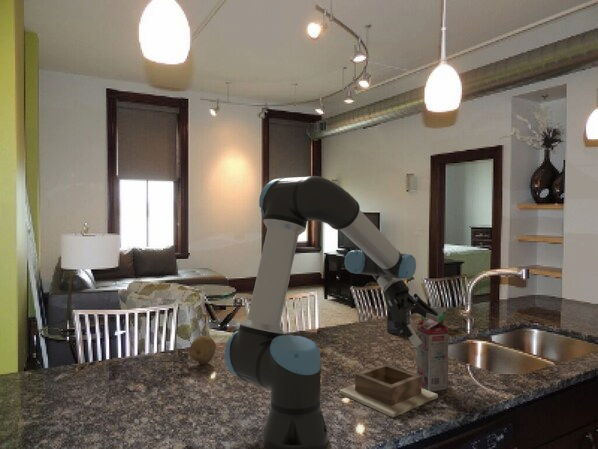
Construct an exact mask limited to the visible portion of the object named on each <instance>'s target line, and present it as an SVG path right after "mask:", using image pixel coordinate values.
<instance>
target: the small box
mask: <svg viewBox="0 0 598 449" xmlns="http://www.w3.org/2000/svg"><path fill="white" fill-rule="evenodd" d="M410 312H411V310H410V311H408V310H407V311H406V315H407V325H409V324H410V325H411V320H410V319H411V313H410ZM386 317H387V318H386V320H387V321H386V324H387V326H386V327H387V328H386V330H387V331H386V333H387V334H392V335H398V336H400V335H403V334H405V333H404V332H403V330H401V331H399V330H398V328H397V329H396V328H395V327H394V323H393V319H392V316H391V312H390V308H389V309H386Z"/></svg>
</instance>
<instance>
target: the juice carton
mask: <svg viewBox="0 0 598 449" xmlns="http://www.w3.org/2000/svg"><path fill="white" fill-rule="evenodd" d="M416 325H417V326H416V327H417V328H416V329H417V330H416V334H417V336H418V337H419V339H420V340H421V342H422V343H421V344H420V345H419V346H418V347H416V375H419V376H422V387H421V388H423V389H425V390H428V391H431V392H436V391H443V390H448V389H449V388H448V386H449V385H448V384H449V381H448V380H449V327H447V325H444V324H443V325H442V324H440V323H439V317H436V316H434V315H431V314H429V313H426V318H425V319H424V320H422V319H421V321H419V322H418V323H417V324H416Z"/></svg>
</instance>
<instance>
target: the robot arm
mask: <svg viewBox="0 0 598 449" xmlns="http://www.w3.org/2000/svg"><path fill="white" fill-rule="evenodd" d="M259 195H260V196H259V200H258V202H259V203H258V205H259V208H260V213H261V214H262V215H263V220H262V222H263V224H264V225H265V227H266V229H267V230H266V234H265V238H264V242H263V246H262V251H261V254H260V256H261V257H260V260H259V266H258V270H257V274H256V277H255V278H256V279H255V283H254V288H253V291H252V296H251V301H250V305H249V310H248V315H247V318H245V319H244V320H243V321H241V322H240V324H239V327H238V330H236V331H235V332H233V333H232V334H231V336H230V337H229V338H228V339H227V341H226V344H225V347H224V352H223V353H224V362H225V365H226V367H227V369H228V371H229V372H230V373H231V374H232V375H233V376H235V377H237V378H239V379H241V380H242V381H244V382H249V383H251V384H252V383H253V384H255V385H257V386H260V387H262V388H266V389H267V390H270V408H269V412H268V416H267V419H266V423H265V426H264V428H263V430H262V431H263V432H262V436H263V437H262V438H263V439H262V441H263V445H264V447H265V449H325V448H326V447H327V444H328V441H329V439H328V436H329V432H328V428H327V424H326V420H325V418H324V415H323V413H322V409H321V389H322V388H321V387H322V386H321V385H322V384H321V383H322V382H321V380H322V379H321V377H322V376H321V375H322V360H321V351H320V348H319V346H318V344H317V343H316V342H314V341H313V340H311V339H309V338H307V337H305V336H300V335H293V334H286V335H285V332H284V329H283V327H282V326H281V323H282V322H281V320H282V316H283V312H284V307H285V302H286V297H287V292H288V289H289V288H288V287H289V283H290V278H291V274H292V268H293V263H294V259H295V254H296V249H297V244H298V240H299V236H300V235H301V234H303V233H304V232H305V231H306V229H307V226H308V225H307V224H308V222H315V221H316V222H319V223H323V224H326V225H328V226H329V227H330V228H332V229H333V230H335V231H341V233H343V234H344V235H345V237H347V238H348V239H349V240H350V241H351V242H352V243H353V244H354V245H356V247H358V249H353V250H350V251H348V252H347V253H346V255H345V256H344V266H345V269H346V270H347V271H348V272H349V273H351V274H355V275H359V274H360V275H361V274H362V275H368V276H372V277H373V279H374V280H375V281H376V282H377V284H378V285H379V287H380V288H381V290H382V292H384V295H385V296H386V297H387V299H388V301H387V302H386V304H387V306H388V308H389V309H390V312H391V316H392V319H393V323H394V327H395V328H396V329H397V328H398V330H399V331H401V330H403V332H404V333H403V334H405V336H406V338H408V339H409V341H410V343H411V345H413V347H414V348H415V349H417V347H418V346H419V345H420V344H421V343H422V342H421V340H420V339H419V337H418V336H417V332H415V330H414V329H413V327H412V326H411V323H410V324H409V325H407V315H406V311H407V310H408V311H410V312H411V311H412V312H415V313H417V314H418V315H419V316H420V317H421V316H423V317H424V318H426V313H429V314H431V315H434V316H436V317H437V316H438V313H437V312H436V311H435V310H434V309H432V308H431V307H430V306H431V305H429V304H428V303H426V302H425V301H424V300H423V299H422V298H421V297H420V296H419V295H418V294H417V293H414V294H413V295H411V294H410V293H409V291H410V287H408V285H407V284H406V282H405V281H404V280H405V279H407V280H409V279H412V278H413V277H414V276H415V273H416V270H417V261H416V259H415V257H414V256H413V255H412V254H408V253H406V252H405V253H402V252H400V251H399V250H398V249H397V247H396V246H395V245H394V244H393V243H392V242H391V241H390V240H389V239H388V238H387V237H386V236H385V235H384V234H383V233H382V232H381V231H380V229H379V228H378V227H377V226H376V225H375V224H374V223H373V221H371V220H370V219H369V218H368V217H367V216H366V215H365V214H364V212H362V210H361V206H360V204H359V202H358V201H357V200H356V199H355V197H353V195H351V194H350V192H348V191H346V189H344V188H343V187H341V186H340V185H339V184H337V183H335V182H333V181H331V180H330V179H328V178H325V177H322V176H318V175H309V176H308V175H307V176H298V177H297V176H296V177H294V176H293V177H288V176H286V177H279V178H276V179H273V180H270V181H268V183H267V184H265V185H264V187H263V188H262V190H261V192H260V194H259ZM403 279H404V280H403Z"/></svg>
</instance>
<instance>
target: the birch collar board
mask: <svg viewBox="0 0 598 449" xmlns="http://www.w3.org/2000/svg"><path fill="white" fill-rule="evenodd" d="M354 377H355V378H354V384H352V385H349V386H346V387H343V388H341V389H339V391H338V392H339V394H340V395H342V396H345V397H347V398H349V399H351V400H354V401H355V402H358V403H360V404H363V405H364V406H367V407H369V408H372V409H373V410H375V411H378V412H380V413H382V414H384V415H387V416H389V417H391V418H395V417H398V416H400V415H402V414H404V413H406V412H409V411H411V410H413V409H415V408H418V407H420V406H422V405H424V404H426V403H429V402H431V401H432V400H435V399H437V398H438V397H439V396H438V395H439V394H438V393H435V391H428V390H426V389H424V388H423V387H422V376H419V375H417V373H413V372H410V371H407V370H405V369H401V368H398V367H396V366H392V365H390V364H387V363H383V364H380V365H378V366H373V367H371V368H368V369H365V370H362V371H359V372H355V374H354Z"/></svg>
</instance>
